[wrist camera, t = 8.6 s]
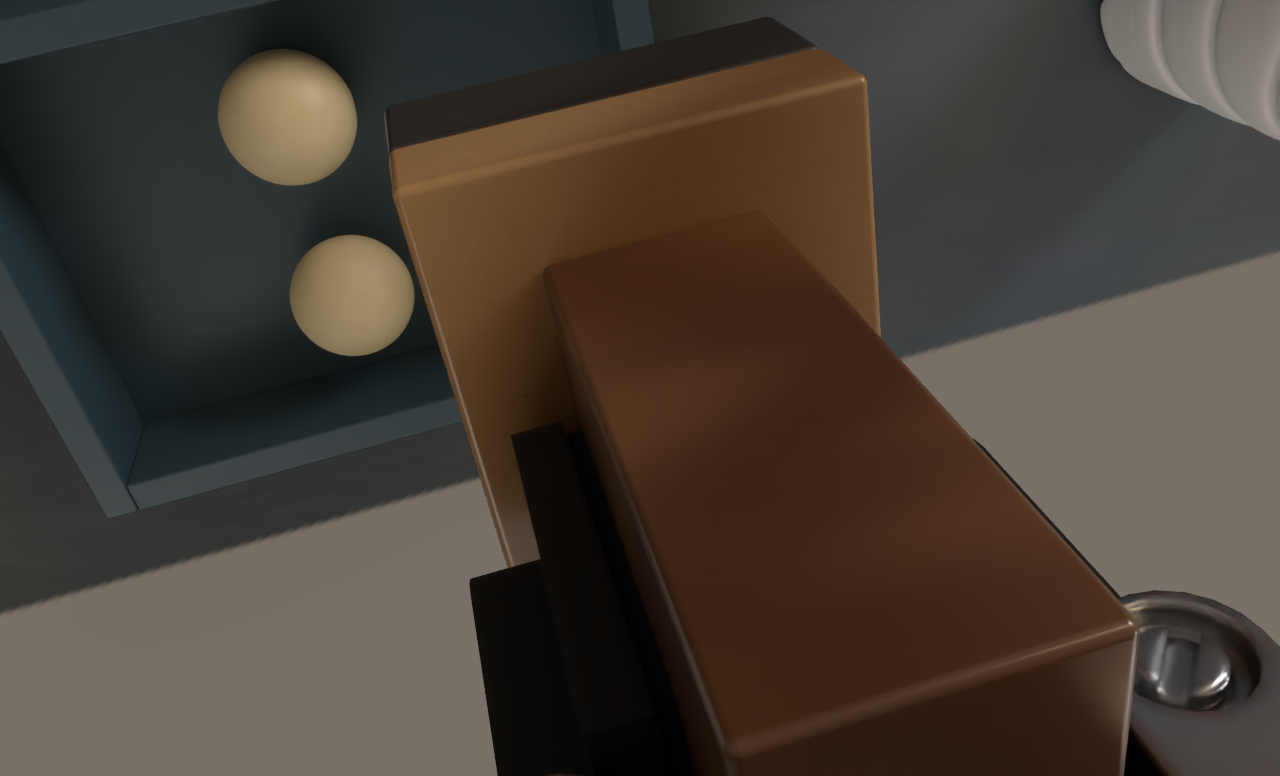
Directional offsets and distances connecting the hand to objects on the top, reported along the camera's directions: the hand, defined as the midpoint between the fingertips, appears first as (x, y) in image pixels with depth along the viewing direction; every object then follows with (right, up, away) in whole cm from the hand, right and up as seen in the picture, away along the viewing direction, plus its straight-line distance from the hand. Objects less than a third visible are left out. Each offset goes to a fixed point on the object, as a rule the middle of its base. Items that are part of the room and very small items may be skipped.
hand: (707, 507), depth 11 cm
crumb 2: (-8, +3, +16) cm, 18 cm away
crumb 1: (-9, +7, +13) cm, 17 cm away
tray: (-8, +7, +16) cm, 19 cm away
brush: (-1, +1, +3) cm, 3 cm away
